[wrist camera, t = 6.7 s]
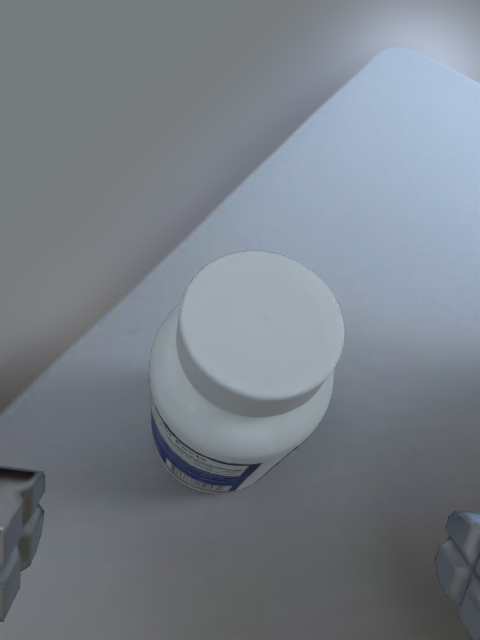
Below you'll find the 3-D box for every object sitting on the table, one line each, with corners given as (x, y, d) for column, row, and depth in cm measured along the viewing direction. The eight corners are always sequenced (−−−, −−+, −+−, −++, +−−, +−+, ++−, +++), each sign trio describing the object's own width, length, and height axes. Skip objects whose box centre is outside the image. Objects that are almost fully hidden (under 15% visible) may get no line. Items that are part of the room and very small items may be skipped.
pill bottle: (245, 351, 21) (305, 206, 12) (301, 461, 19) (417, 375, 10) (132, 394, 19) (112, 258, 11) (180, 520, 17) (203, 475, 9)
